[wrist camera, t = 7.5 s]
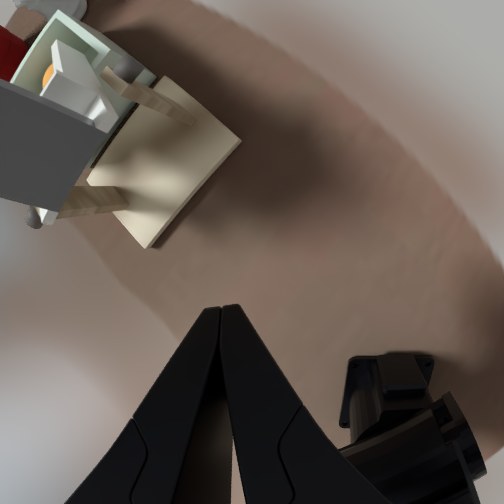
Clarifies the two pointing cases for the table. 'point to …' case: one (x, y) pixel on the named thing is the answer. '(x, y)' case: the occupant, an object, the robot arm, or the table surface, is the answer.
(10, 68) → the plastic cup
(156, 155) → the stand
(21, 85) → the pale green open box
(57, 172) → the chute
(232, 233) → the table surface
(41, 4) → the rook chess piece
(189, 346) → the robot arm
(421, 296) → the table surface
